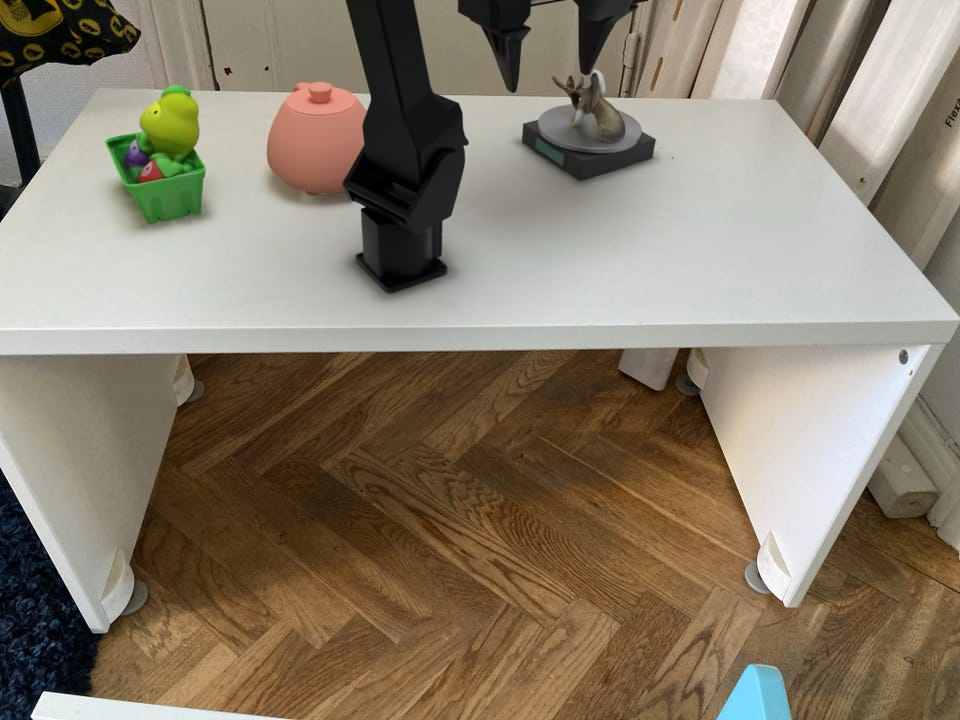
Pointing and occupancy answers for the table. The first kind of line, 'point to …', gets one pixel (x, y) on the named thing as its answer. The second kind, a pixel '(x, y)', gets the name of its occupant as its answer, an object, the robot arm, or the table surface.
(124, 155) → the fruit basket
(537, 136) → the scale
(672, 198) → the table surface
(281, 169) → the sugar bowl
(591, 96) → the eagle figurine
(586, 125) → the scale pan
